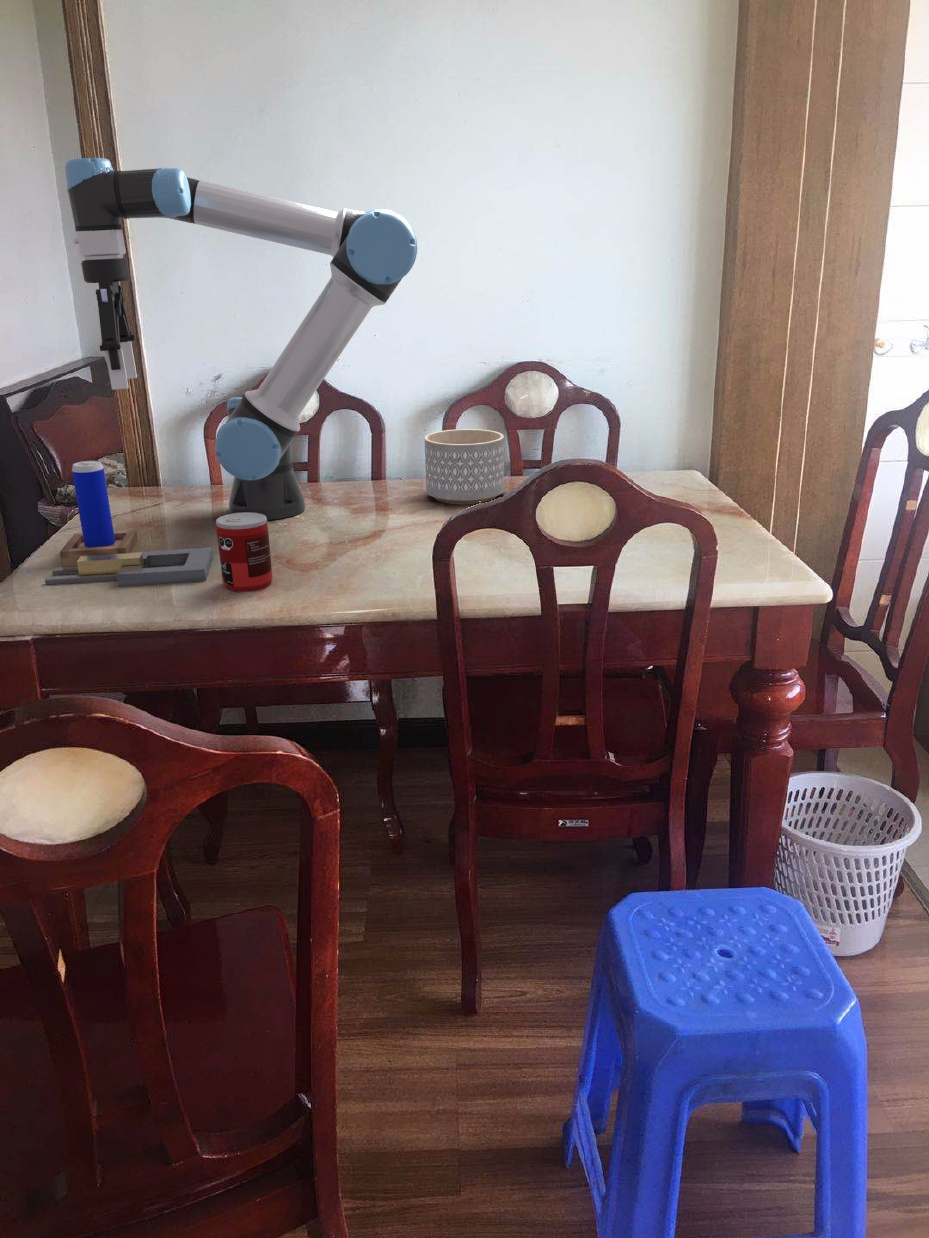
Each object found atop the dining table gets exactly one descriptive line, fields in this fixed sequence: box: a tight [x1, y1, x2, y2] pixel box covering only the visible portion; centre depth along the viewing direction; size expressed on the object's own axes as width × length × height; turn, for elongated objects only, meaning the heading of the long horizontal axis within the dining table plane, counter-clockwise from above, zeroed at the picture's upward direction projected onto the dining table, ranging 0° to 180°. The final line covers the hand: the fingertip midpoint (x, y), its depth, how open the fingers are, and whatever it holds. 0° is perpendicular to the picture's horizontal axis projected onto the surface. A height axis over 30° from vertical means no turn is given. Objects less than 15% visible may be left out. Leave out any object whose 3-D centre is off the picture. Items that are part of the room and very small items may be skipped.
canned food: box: [215, 512, 273, 593], centre depth 159 cm, size 8×8×11 cm
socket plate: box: [44, 547, 214, 587], centre depth 167 cm, size 26×12×2 cm, turn 98°
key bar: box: [76, 553, 145, 576], centre depth 166 cm, size 10×3×3 cm, turn 98°
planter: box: [423, 428, 505, 505], centre depth 208 cm, size 16×16×13 cm
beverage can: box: [71, 460, 115, 548], centre depth 174 cm, size 5×5×15 cm
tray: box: [59, 529, 140, 568], centre depth 177 cm, size 11×11×3 cm
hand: (125, 383), depth 179 cm, fingers open, 13 cm apart
